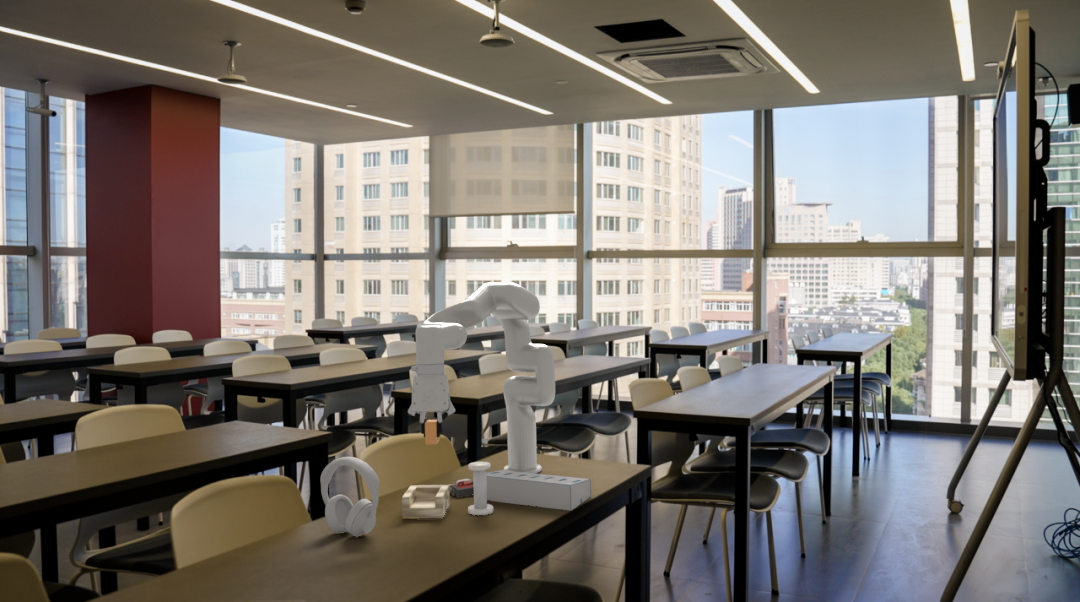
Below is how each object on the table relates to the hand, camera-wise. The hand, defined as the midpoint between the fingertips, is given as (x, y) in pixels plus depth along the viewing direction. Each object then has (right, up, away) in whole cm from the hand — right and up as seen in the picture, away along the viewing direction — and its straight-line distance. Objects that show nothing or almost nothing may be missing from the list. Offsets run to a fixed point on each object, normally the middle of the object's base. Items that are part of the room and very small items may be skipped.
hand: (432, 435), depth 214 cm
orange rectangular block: (0, -2, 0) cm, 2 cm away
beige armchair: (-2, -21, +1) cm, 21 cm away
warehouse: (+28, -21, +12) cm, 37 cm away
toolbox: (+6, -21, +19) cm, 29 cm away
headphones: (-18, -23, -16) cm, 33 cm away
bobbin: (+13, -21, 0) cm, 25 cm away
